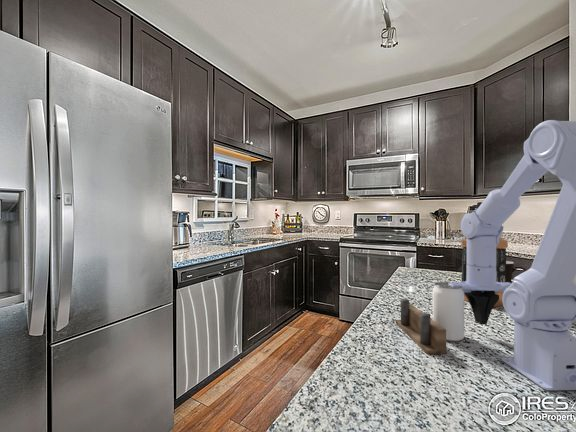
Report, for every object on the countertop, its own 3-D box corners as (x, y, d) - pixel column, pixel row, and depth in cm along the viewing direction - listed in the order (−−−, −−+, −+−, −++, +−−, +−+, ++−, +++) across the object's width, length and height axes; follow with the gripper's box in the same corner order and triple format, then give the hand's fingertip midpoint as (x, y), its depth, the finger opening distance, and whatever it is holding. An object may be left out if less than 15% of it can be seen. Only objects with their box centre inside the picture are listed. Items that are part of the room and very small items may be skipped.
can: (469, 343, 62) (469, 289, 62) (437, 340, 63) (436, 287, 63) (458, 331, 68) (458, 282, 68) (429, 328, 70) (429, 281, 69)
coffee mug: (479, 286, 108) (479, 260, 108) (495, 284, 110) (496, 259, 110) (511, 294, 97) (511, 266, 96) (528, 292, 99) (529, 264, 99)
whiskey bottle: (510, 304, 87) (511, 201, 87) (489, 308, 83) (489, 201, 83) (477, 295, 97) (477, 202, 96) (457, 298, 93) (457, 202, 93)
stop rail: (446, 353, 58) (446, 319, 57) (426, 354, 57) (426, 320, 57) (410, 322, 74) (410, 296, 73) (395, 322, 73) (395, 296, 73)
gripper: (498, 261, 70) (498, 315, 70) (440, 262, 69) (440, 316, 70) (522, 267, 63) (522, 327, 63) (458, 268, 62) (458, 328, 62)
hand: (480, 322), depth 66 cm, fingers closed
